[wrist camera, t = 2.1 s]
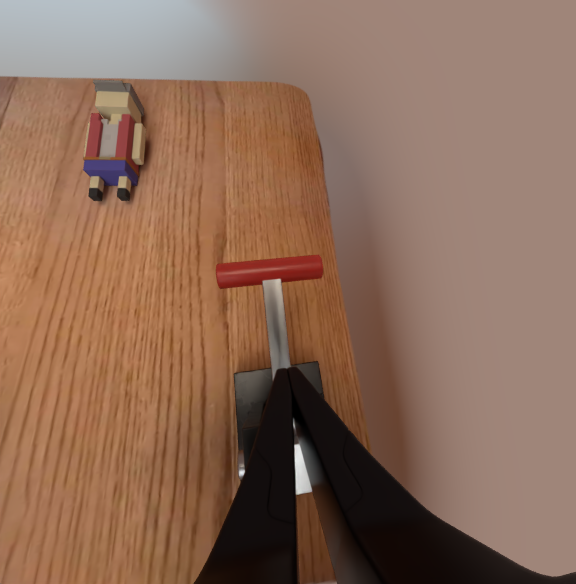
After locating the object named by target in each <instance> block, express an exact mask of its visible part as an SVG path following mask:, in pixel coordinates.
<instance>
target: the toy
mask: <svg viewBox="0 0 576 584" xmlns="http://www.w3.org/2000/svg"><path fill="white" fill-rule="evenodd" d="M93 83H94V84H95V91H96V92H97V96H96V103H95V107H96V108H97V109H98V111H99V112H100V113H101V115H102V116H103V118H104V119H103V118H102V117H101V115H100V114H99V113H91V119H90V122H88V128H87V135H86V142H85V149H84V156H83V159H84V160H85V162H84V169H83V170H84V171H85V172H86V173H87V174H88V175H89V176H90V177H91V181H90V188H89V197H90V198H91V199H92V200H94V201H102V197H103V188H104V186H118V191H117V197H118V198H119V199H120V200H121V201H129V200H130V189H131V186H137V181H138V177H139V173H138V169H139V165H144V152H145V139H146V129H145V128H144V126H143V124H141V116H144V108H143V106H142V104H141V102H140V100H139V98H138V96H137V94H136V93H135V91H134V89H133V87H132V85H131V83H123V81H115V80H93Z"/></svg>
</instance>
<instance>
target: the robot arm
mask: <svg viewBox="0 0 576 584" xmlns="http://www.w3.org/2000/svg"><path fill="white" fill-rule="evenodd" d="M293 421H294V422H293ZM294 425H295V429H296V433H297V437H298V440H299V444H300V448H301V451H302V455H303V459H304V463H305V466H306V470H307V474H308V477H309V481H310V485H311V488H312V492H313V496H314V499H315V503H316V507H317V510H318V514H319V518H320V521H321V525H322V529H323V532H324V536H325V540H326V543H327V547H328V551H329V554H330V558H331V562H332V565H333V569H334V571H335V577H336V580H337V584H576V572H574V573H570V574H566V575H563V576H558V577H551V576H546V575H542V574H539V573H536V572H534V571H531V570H529V569H527V568H525V567H523V566H521V565H519V564H517V563H515V562H514V561H512V560H510V559H508V558H507V557H505V556H503V555H501V554H500V553H498V552H496V551H495V550H493V549H491V548H489V547H487V546H486V545H484V544H482V543H481V542H479V541H477V540H475V539H474V538H472V537H470V536H469V535H467V534H465V533H463V532H462V531H460V530H458V529H456V528H455V527H453V526H451V525H450V524H448V523H446V522H444V521H443V520H441V519H440V518H438V517H437V516H435V515H434V514H432V513H431V512H430V511H428V510H427V509H426V508H425V507H424V506H423V505H421V504H420V503H419V502H418V501H417V500H416V499H415V498H414V497H413V496H412V495H411V494H410V493H409V492H408V491H407V490H406V489H405V488H404V487H403V486H402V485H401V484H400V483H399V482H398V481H397V480H396V479H395V478H394V477H393V476H392V475H391V474H390V473H389V472H388V471H387V470H385V468H384V467H383V466H381V464H380V463H379V462H378V461H377V460H376V459H375V458H374V457H373V456H372V455H371V454H370V453H369V452H368V451H367V450H366V449H365V447H364V446H363V445H362V444H361V443H360V442H359V441H358V439H357V438H356V437H355V436H354V435H353V433H352V432H351V431H350V430H349V429H348V428H347V426H346V425H345V424H344V423H343V422H342V420H341V419H340V418H339V417H338V415H337V414H336V413H335V412H334V411H333V409H332V408H331V407H330V406H329V405H328V403H327V402H326V401H325V400H324V399H323V397H322V396H321V395H320V394H319V393H318V391H317V390H316V389H315V388H314V386H313V385H312V384H311V383H310V382H309V380H308V379H307V378H306V377H305V376H304V374H303V373H302V372H301V371H300V370H299V368H298V367H297V366H292V367H288V368H279V369H277V370H276V373H275V376H274V380H273V383H272V386H271V389H270V393H269V396H268V399H267V403H266V406H265V409H264V412H263V416H262V419H261V422H260V425H259V429H258V432H257V435H256V438H255V442H254V445H253V448H252V451H251V454H250V458H249V461H248V464H247V467H246V470H245V473H244V476H243V478H242V481H241V483H240V486H239V488H238V491H237V493H236V496H235V498H234V500H233V503H232V505H231V507H230V510H229V512H228V514H227V517H226V519H225V521H224V523H223V526H222V528H221V530H220V533H219V535H218V537H217V540H216V542H215V544H214V547H213V549H212V551H211V553H210V555H209V557H208V559H207V561H206V563H205V565H204V567H203V569H202V571H201V572H200V574H199V576H198V577H197V579H196V581H195V582H194V584H300V582H299V555H298V528H297V501H296V474H295V447H294ZM348 430H349V431H348Z"/></svg>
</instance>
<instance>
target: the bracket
mask: <svg viewBox="0 0 576 584" xmlns="http://www.w3.org/2000/svg"><path fill="white" fill-rule="evenodd" d="M292 366H297V367H298V368H299V370H300V371H301V372H302V373H303V374H304V376H305V377H306V378H307V379H308V380H309V382H310V383H311V384H312V385H313V386H314V388H315V389H316V390H317V391H318V393H319V394H320V395H321V396H322V397H323V399H324V393H323V387H322V381H321V375H320V369H319V363H318V361H316V362H309V363H302V364H295V365H291V367H292ZM272 383H273V378H272V369H271V368H267V369H260V370H253V371H246V372H239V373H234V384H235V400H236V416H237V432H238V448H239V452H238V475H239V479H240V480H241V481H242V478H243V476H244V473H245V470H246V467H247V464H248V461H249V458H250V454H251V451H252V448H253V445H254V442H255V438H256V435H257V432H258V429H259V425H260V422H261V419H262V416H263V412H264V409H265V406H266V403H267V399H268V396H269V393H270V389H271V386H272ZM324 400H325V399H324Z"/></svg>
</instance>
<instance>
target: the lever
mask: <svg viewBox="0 0 576 584" xmlns="http://www.w3.org/2000/svg"><path fill="white" fill-rule="evenodd" d="M322 275H323V264H322V259H321V257H320V255H309V256H298V257H287V258H276V259H265V260H254V261H243V262H232V263H221V264H217V265H216V277H217V283H218V286H219V288H220V289H224V288H233V287H243V286H253V285H263V295H264V304H265V313H266V322H267V332H268V341H269V350H270V359H271V369H272V378H273V380H274V376H275V373H276V370H277V369H279V368H288V367H291V365H290V356H289V347H288V337H287V328H286V319H285V309H284V300H283V290H282V282H292V281H301V280H311V279H320V278H322ZM293 422H294V421H293ZM294 447H295V474H296V495H299V494H304V493H309V492H312V488H311V485H310V481H309V477H308V474H307V470H306V466H305V463H304V459H303V455H302V451H301V448H300V444H299V440H298V437H297V433H296V429H295V425H294Z"/></svg>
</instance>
